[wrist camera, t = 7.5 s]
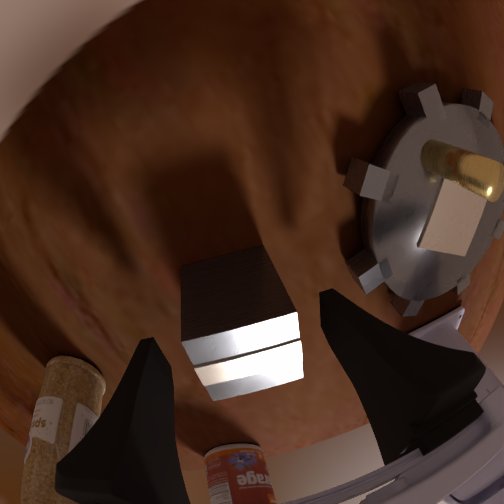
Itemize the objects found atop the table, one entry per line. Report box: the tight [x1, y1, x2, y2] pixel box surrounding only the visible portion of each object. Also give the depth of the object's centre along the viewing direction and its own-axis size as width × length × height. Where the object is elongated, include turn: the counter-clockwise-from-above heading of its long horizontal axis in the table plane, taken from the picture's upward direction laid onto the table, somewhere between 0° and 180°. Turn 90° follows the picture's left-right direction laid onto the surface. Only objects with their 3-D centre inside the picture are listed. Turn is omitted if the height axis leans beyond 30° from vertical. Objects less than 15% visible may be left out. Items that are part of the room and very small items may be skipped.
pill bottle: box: [204, 443, 277, 504], centre depth 20 cm, size 6×6×11 cm
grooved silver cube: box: [181, 245, 303, 401], centre depth 13 cm, size 4×4×5 cm
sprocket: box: [343, 82, 504, 317], centre depth 12 cm, size 14×14×6 cm
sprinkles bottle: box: [20, 356, 106, 504], centre depth 10 cm, size 5×5×13 cm
